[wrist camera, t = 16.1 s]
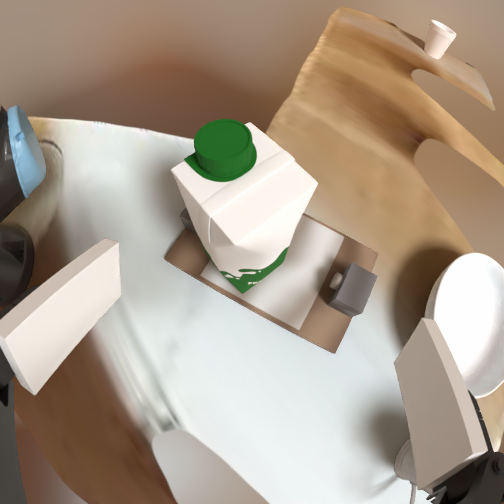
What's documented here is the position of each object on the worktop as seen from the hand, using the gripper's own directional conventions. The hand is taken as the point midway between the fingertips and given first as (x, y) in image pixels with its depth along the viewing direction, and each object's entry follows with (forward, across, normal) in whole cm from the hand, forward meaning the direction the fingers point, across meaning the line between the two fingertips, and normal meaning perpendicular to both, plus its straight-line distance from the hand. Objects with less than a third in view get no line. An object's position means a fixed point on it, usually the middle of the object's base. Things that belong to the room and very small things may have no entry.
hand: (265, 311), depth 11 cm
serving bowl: (+22, +31, -13) cm, 40 cm away
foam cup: (+85, +39, +50) cm, 106 cm away
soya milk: (+23, -3, -10) cm, 26 cm away
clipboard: (+25, 0, -10) cm, 27 cm away
